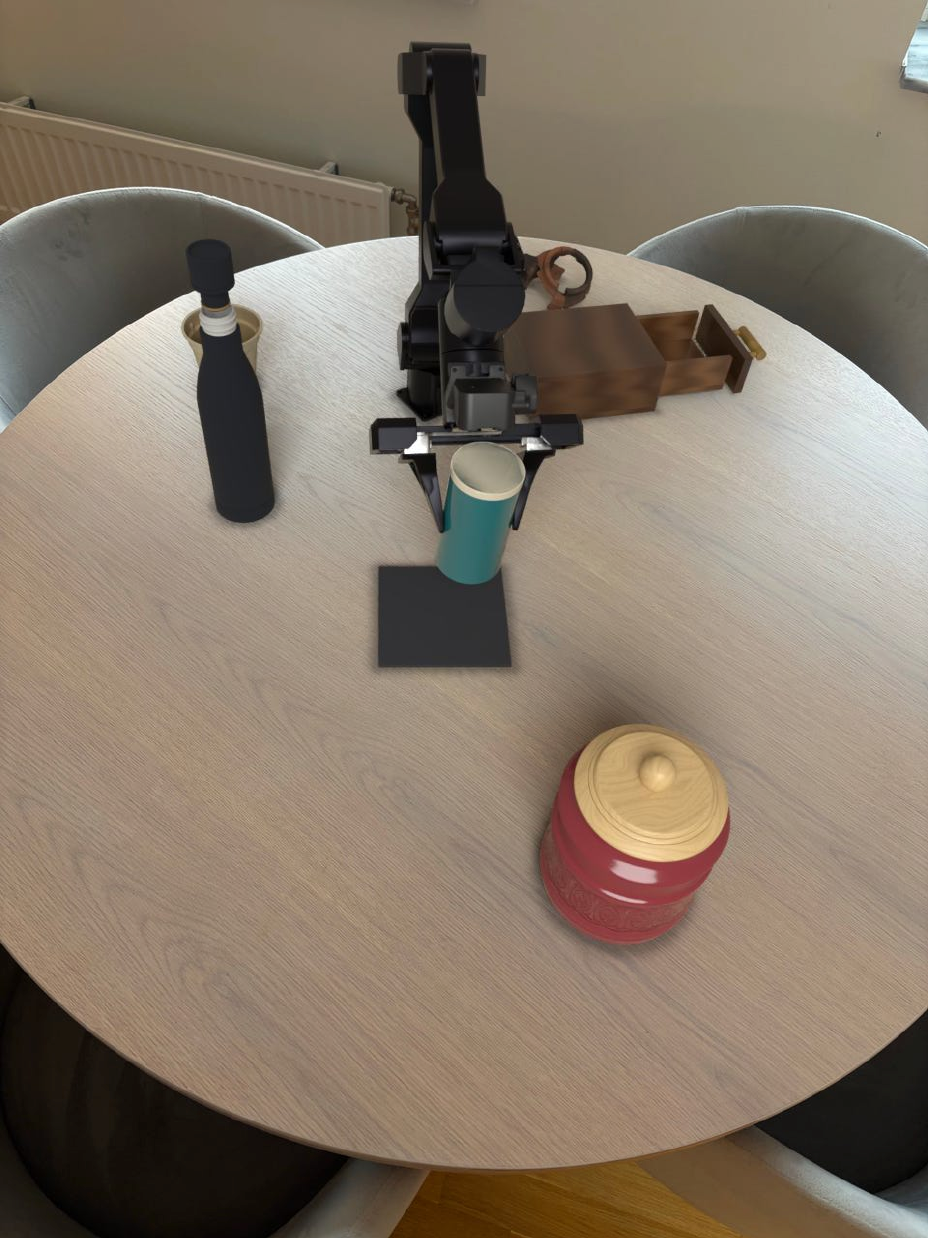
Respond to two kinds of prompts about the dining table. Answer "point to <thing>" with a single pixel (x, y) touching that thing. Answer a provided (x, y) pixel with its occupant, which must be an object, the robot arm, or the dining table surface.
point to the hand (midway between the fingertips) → (478, 531)
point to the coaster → (440, 620)
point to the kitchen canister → (633, 833)
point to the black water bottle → (229, 393)
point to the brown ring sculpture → (556, 276)
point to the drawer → (687, 361)
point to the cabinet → (586, 360)
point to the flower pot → (248, 326)
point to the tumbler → (478, 511)
